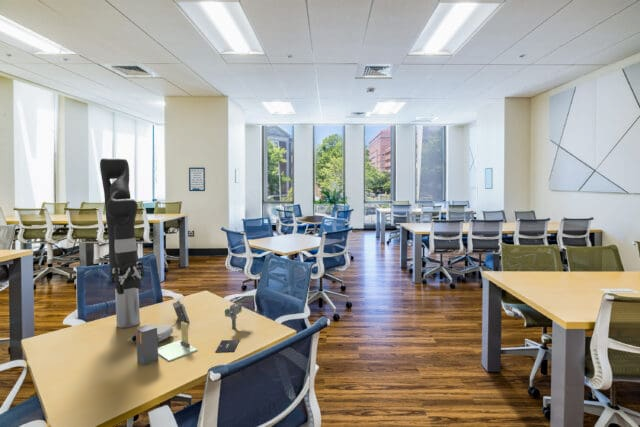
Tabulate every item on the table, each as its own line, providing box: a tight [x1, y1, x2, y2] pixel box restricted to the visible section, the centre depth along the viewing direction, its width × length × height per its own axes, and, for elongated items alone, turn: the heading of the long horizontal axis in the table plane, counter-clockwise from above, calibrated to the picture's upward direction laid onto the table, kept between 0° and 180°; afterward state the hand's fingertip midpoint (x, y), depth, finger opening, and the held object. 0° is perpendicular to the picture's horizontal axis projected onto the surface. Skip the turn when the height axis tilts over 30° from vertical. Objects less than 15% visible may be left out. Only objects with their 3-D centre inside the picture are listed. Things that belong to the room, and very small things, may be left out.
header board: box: [158, 322, 199, 362], centre depth 131 cm, size 13×11×10 cm
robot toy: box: [127, 324, 176, 343], centre depth 142 cm, size 12×4×15 cm
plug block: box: [135, 323, 159, 367], centre depth 124 cm, size 6×5×12 cm
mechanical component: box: [224, 302, 243, 330], centre depth 152 cm, size 3×10×10 cm, turn 158°
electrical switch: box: [172, 298, 190, 324], centre depth 163 cm, size 9×5×9 cm, turn 30°
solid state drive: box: [214, 339, 240, 354], centre depth 135 cm, size 7×10×1 cm
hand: (129, 291), depth 138 cm, fingers open, 8 cm apart
